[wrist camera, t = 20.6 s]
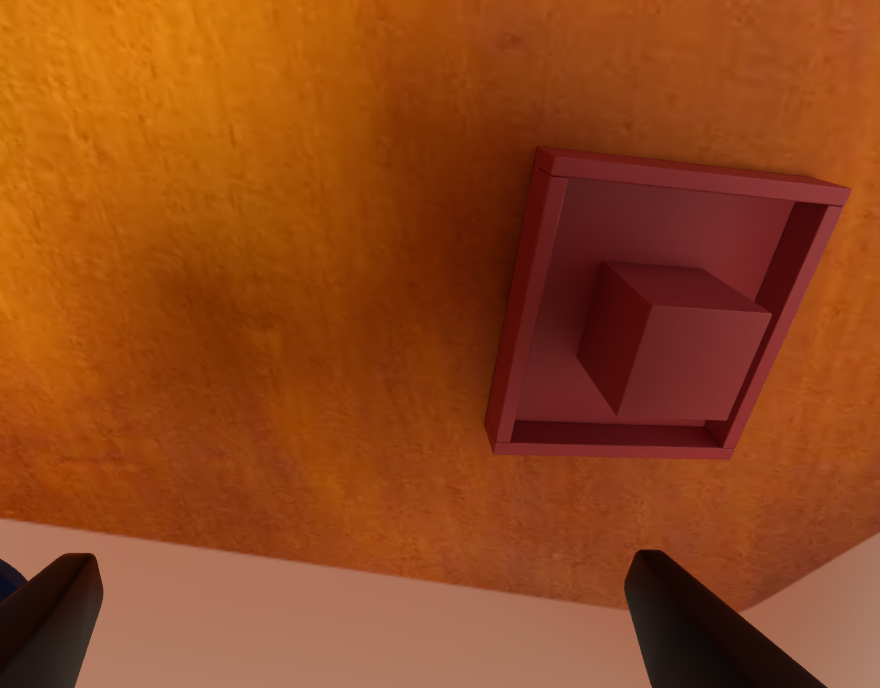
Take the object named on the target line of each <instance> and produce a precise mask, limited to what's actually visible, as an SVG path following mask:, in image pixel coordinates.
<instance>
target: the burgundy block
mask: <svg viewBox="0 0 880 688" xmlns="http://www.w3.org/2000/svg"><path fill="white" fill-rule="evenodd" d="M771 316H772V313H770V312H769V311H767V310H766V309H764V308H763V307H761V306H759V305H758V304H756V303H755V302H753V301H752V300H750V299H749V298H747V297H746V296H744V295H742V294H741V293H739V292H738V291H736V290H735V289H733V288H732V287H730V286H729V285H727V284H726V283H724V282H722V281H721V280H719V279H718V278H716V277H715V276H713V275H712V274H710V273H709V272H707V271H705V270H704V269H698V268H685V267H673V266H661V265H648V264H636V263H624V262H611V261H602V263H601V267H600V271H599V274H598V278H597V282H596V286H595V289H594V293H593V297H592V301H591V305H590V308H589V312H588V316H587V320H586V324H585V327H584V331H583V335H582V339H581V342H580V346H579V350H578V354H577V359H578V361H579V362H580V364H581V365H582V367H583V368H584V369H585V371H586V372H587V374H588V375H589V377H590V378H591V380H592V381H593V383H594V384H595V386H596V387H597V389H598V390H599V391H600V393H601V394H602V396H603V397H604V399H605V400H606V402H607V403H608V405H609V406H610V408H611V409H612V411H613V412H614V413H615V415H616V416H617V417H640V418H669V419H698V420H727V418H728V416H729V414H730V411H731V409H732V407H733V404H734V402H735V400H736V397H737V395H738V393H739V390H740V388H741V386H742V383H743V381H744V379H745V376H746V374H747V372H748V369H749V367H750V365H751V362H752V360H753V358H754V355H755V353H756V351H757V348H758V346H759V344H760V341H761V339H762V337H763V334H764V332H765V330H766V327H767V325H768V323H769V320H770V318H771Z"/></svg>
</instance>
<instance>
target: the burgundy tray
mask: <svg viewBox="0 0 880 688" xmlns="http://www.w3.org/2000/svg"><path fill="white" fill-rule="evenodd" d="M850 192H851V189H850V188H848V187H844V186H841V185H837V184H834V183H830V182H827V181H823V180H819V179H816V178H813V177H806V176H797V175H788V174H779V173H770V172H762V171H753V170H744V169H735V168H727V167H718V166H709V165H700V164H691V163H683V162H674V161H665V160H656V159H647V158H639V157H630V156H621V155H612V154H603V153H595V152H586V151H577V150H568V149H559V148H551V147H542V146H538V147H537V151H536V157H535V162H534V167H533V172H532V178H531V183H530V188H529V194H528V199H527V204H526V209H525V215H524V220H523V225H522V230H521V236H520V241H519V246H518V251H517V257H516V262H515V267H514V272H513V278H512V283H511V288H510V293H509V299H508V304H507V309H506V314H505V320H504V325H503V330H502V335H501V341H500V346H499V351H498V357H497V362H496V367H495V372H494V378H493V383H492V388H491V393H490V399H489V404H488V409H487V414H486V420H485V425H484V426H485V429H486V432H487V435H488V438H489V441H490V445H491V448H492V451H493V454H503V455H548V456H593V457H637V458H682V459H727V460H729V459H731V456H732V454H733V452H734V448H735V447H736V445H737V443H738V441H739V439H740V436H741V434H742V432H743V430H744V428H745V425H746V423H747V421H748V419H749V416H750V414H751V412H752V410H753V408H754V405H755V403H756V401H757V399H758V396H759V394H760V392H761V390H762V388H763V385H764V383H765V381H766V379H767V377H768V374H769V372H770V370H771V368H772V365H773V363H774V361H775V359H776V357H777V354H778V352H779V350H780V348H781V345H782V343H783V341H784V339H785V337H786V334H787V332H788V330H789V328H790V326H791V323H792V321H793V319H794V317H795V314H796V312H797V310H798V308H799V306H800V303H801V301H802V299H803V297H804V294H805V292H806V290H807V288H808V286H809V283H810V281H811V279H812V277H813V275H814V272H815V270H816V268H817V266H818V263H819V261H820V259H821V257H822V255H823V252H824V250H825V248H826V246H827V243H828V241H829V239H830V237H831V235H832V232H833V230H834V228H835V226H836V224H837V221H838V219H839V217H840V215H841V212H842V210H843V207H842V206H844V205H845V204H846V201H847V199H848V197H849V195H850ZM602 261H611V262H624V263H636V264H648V265H661V266H673V267H685V268H698V269H704V270H705V271H707V272H709V273H710V274H712V275H713V276H715V277H716V278H718V279H719V280H721V281H722V282H724V283H726V284H727V285H729V286H730V287H732V288H733V289H735V290H736V291H738V292H739V293H741V294H742V295H744V296H746V297H747V298H749V299H750V300H752V301H753V302H755V303H756V304H758V305H759V306H761V307H763V308H764V309H766V310H767V311H769V312H770V313H772V316H771V318H770V320H769V323H768V325H767V327H766V330H765V332H764V334H763V337H762V339H761V341H760V344H759V346H758V348H757V351H756V353H755V355H754V358H753V360H752V362H751V365H750V367H749V369H748V372H747V374H746V376H745V379H744V381H743V383H742V386H741V388H740V390H739V393H738V395H737V397H736V400H735V402H734V404H733V407H732V409H731V411H730V414H729V416H728V418H727V420H698V419H669V418H640V417H617V416H616V415H615V413H614V412H613V411H612V409H611V408H610V406H609V405H608V403H607V402H606V400H605V399H604V397H603V396H602V394H601V393H600V391H599V390H598V389H597V387H596V386H595V384H594V383H593V381H592V380H591V378H590V377H589V375H588V374H587V372H586V371H585V369H584V368H583V367H582V365H581V364H580V362H579V361H578V359H577V354H578V350H579V346H580V342H581V339H582V335H583V331H584V327H585V324H586V320H587V316H588V312H589V308H590V305H591V301H592V297H593V293H594V289H595V286H596V282H597V278H598V274H599V271H600V267H601V263H602Z"/></svg>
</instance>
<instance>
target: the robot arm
mask: <svg viewBox="0 0 880 688" xmlns="http://www.w3.org/2000/svg"><path fill="white" fill-rule="evenodd" d="M624 590H625V596H626V599H627V603H628V606H629V610H630V614H631V617H632V621H633V624H634V628H635V631H636V635H637V639H638V642H639V646H640V649H641V653H642V656H643V660H644V664H645V667H646V670H647V674H648V677H649V680H650V683H651V686H652V688H827V687H826V686H825V685H824V684H822V683H821V682H820V681H819V680H818V679H816V678H815V677H814V676H813V675H812V674H810V673H809V672H808V671H807V670H806V669H804V668H803V667H802V666H801V665H799V664H798V663H797V662H796V661H795V660H793V659H792V658H791V657H790V656H789V655H787V654H786V653H785V652H784V651H783V650H781V649H780V648H779V647H778V646H776V645H775V644H774V643H773V642H772V641H770V640H769V639H768V638H767V637H766V636H764V635H763V634H762V633H761V632H760V631H758V630H757V629H756V628H755V627H754V626H752V625H751V624H750V623H749V622H748V621H746V620H745V619H744V618H743V617H741V616H740V615H739V614H738V613H737V612H735V611H734V610H733V609H732V608H731V607H729V606H728V605H727V604H726V603H725V602H723V601H722V600H721V599H720V598H719V597H717V596H716V595H715V594H714V593H712V592H711V591H710V590H709V589H708V588H706V587H705V586H704V585H703V584H702V583H700V582H699V581H698V580H697V579H696V578H694V577H693V576H692V575H691V574H690V573H688V572H687V571H686V570H685V569H683V568H682V567H681V566H680V565H679V564H677V563H676V562H675V561H674V560H673V559H671V558H670V557H669V556H668V555H667V554H665V553H664V552H662V551H660V550H639V551H638V552H636V554H635V556H634V558H633V561H632V563H631V566H630V569H629V571H628V574H627V576H626V579H625V584H624ZM102 600H103V585H102V581H101V576H100V573H99V568H98V563H97V560H96V557H95V556H94V555H93V554H91V553H67V554H64V555H62V556H60V557H59V558H57V559H56V560H55V561H53V562H52V563H51V564H50V565H48V566H47V567H46V568H45V569H43V570H42V571H41V572H40V573H38V574H37V575H36V576H35V577H33V578H32V579H31V580H29V581H28V582H27V583H26V584H24V585H23V586H22V587H21V588H19V589H18V590H17V591H15V592H14V593H13V594H12V595H10V596H9V597H8V598H7V599H5V600H4V601H3V602H2V603H0V688H74V687H75V684H76V681H77V678H78V675H79V672H80V669H81V666H82V663H83V660H84V657H85V654H86V651H87V647H88V644H89V641H90V638H91V635H92V632H93V629H94V626H95V622H96V620H97V617H98V614H99V611H100V608H101V604H102Z"/></svg>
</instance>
